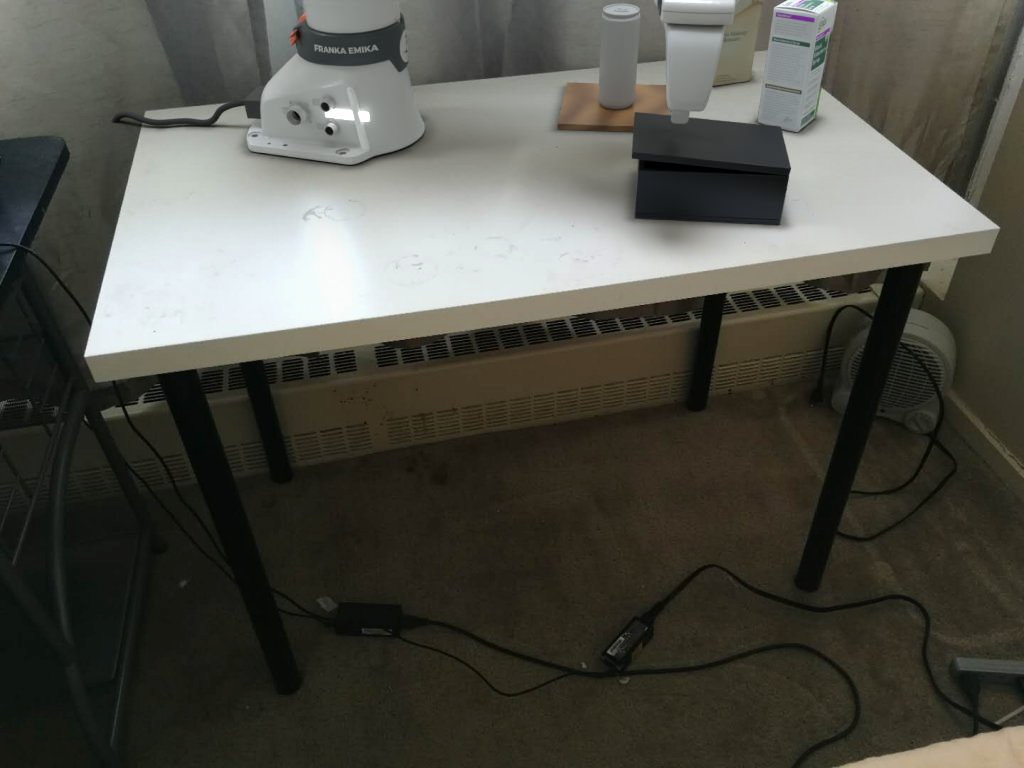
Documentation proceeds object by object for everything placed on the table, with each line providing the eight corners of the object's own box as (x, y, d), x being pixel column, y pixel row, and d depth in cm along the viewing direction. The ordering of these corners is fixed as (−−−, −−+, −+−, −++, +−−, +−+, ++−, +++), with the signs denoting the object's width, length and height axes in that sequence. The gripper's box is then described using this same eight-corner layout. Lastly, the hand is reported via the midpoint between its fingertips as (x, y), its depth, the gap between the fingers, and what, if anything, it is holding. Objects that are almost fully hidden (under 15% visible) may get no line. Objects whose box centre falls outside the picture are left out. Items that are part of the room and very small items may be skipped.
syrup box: (798, 133, 107) (822, 12, 98) (754, 122, 110) (773, 4, 101) (816, 118, 111) (841, -1, 101) (773, 108, 114) (793, -8, 104)
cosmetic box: (712, 87, 120) (724, -5, 112) (696, 76, 123) (707, -14, 115) (752, 80, 121) (766, -11, 113) (735, 70, 124) (748, -20, 116)
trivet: (557, 129, 110) (557, 123, 110) (566, 87, 121) (566, 82, 120) (667, 133, 108) (668, 127, 108) (667, 90, 119) (668, 84, 119)
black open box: (634, 218, 92) (638, 170, 89) (636, 175, 100) (640, 129, 96) (779, 225, 90) (789, 176, 87) (770, 180, 98) (779, 133, 95)
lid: (631, 159, 88) (632, 151, 87) (633, 118, 96) (634, 111, 95) (789, 175, 87) (791, 168, 86) (779, 133, 94) (781, 126, 94)
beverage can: (604, 94, 116) (608, 1, 109) (638, 99, 115) (645, 5, 107) (593, 108, 113) (596, 13, 105) (628, 112, 112) (634, 16, 104)
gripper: (662, -53, 89) (650, 79, 98) (662, 9, 74) (646, 159, 83) (724, -52, 88) (706, 81, 97) (737, 12, 73) (713, 163, 82)
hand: (678, 118), depth 90 cm, fingers closed
